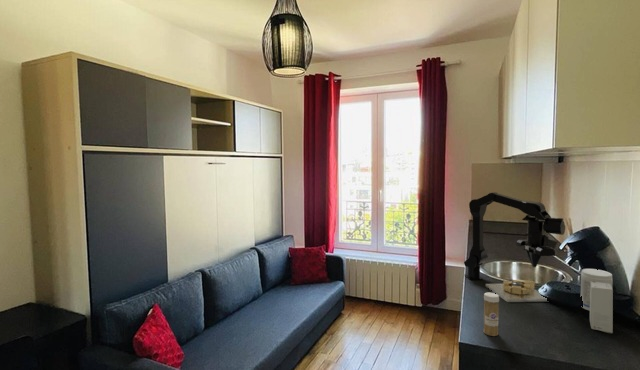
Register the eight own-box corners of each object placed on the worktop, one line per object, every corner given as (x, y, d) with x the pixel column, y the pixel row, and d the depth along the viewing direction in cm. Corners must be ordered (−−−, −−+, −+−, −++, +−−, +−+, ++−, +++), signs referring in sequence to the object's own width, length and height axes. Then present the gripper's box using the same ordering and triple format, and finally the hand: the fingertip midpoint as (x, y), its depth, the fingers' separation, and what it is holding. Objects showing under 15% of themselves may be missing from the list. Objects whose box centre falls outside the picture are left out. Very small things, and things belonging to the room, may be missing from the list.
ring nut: (516, 295, 143) (516, 288, 143) (498, 287, 152) (498, 280, 152) (542, 291, 147) (542, 284, 147) (522, 283, 156) (522, 277, 156)
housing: (485, 286, 158) (485, 276, 158) (523, 285, 158) (524, 276, 158) (507, 302, 140) (507, 291, 140) (550, 301, 140) (551, 290, 140)
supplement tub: (583, 302, 139) (585, 266, 138) (614, 309, 132) (615, 272, 131) (576, 308, 133) (578, 271, 132) (608, 316, 126) (609, 277, 125)
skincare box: (612, 334, 113) (614, 290, 112) (589, 329, 117) (591, 286, 116) (610, 324, 120) (611, 283, 119) (588, 319, 124) (590, 279, 123)
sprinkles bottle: (488, 337, 112) (489, 297, 111) (480, 330, 117) (481, 292, 116) (501, 336, 113) (502, 296, 112) (493, 329, 117) (494, 291, 116)
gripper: (569, 235, 138) (568, 273, 139) (540, 227, 156) (539, 260, 157) (541, 236, 138) (540, 273, 139) (516, 227, 157) (515, 260, 158)
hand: (534, 266), depth 148 cm, fingers closed
